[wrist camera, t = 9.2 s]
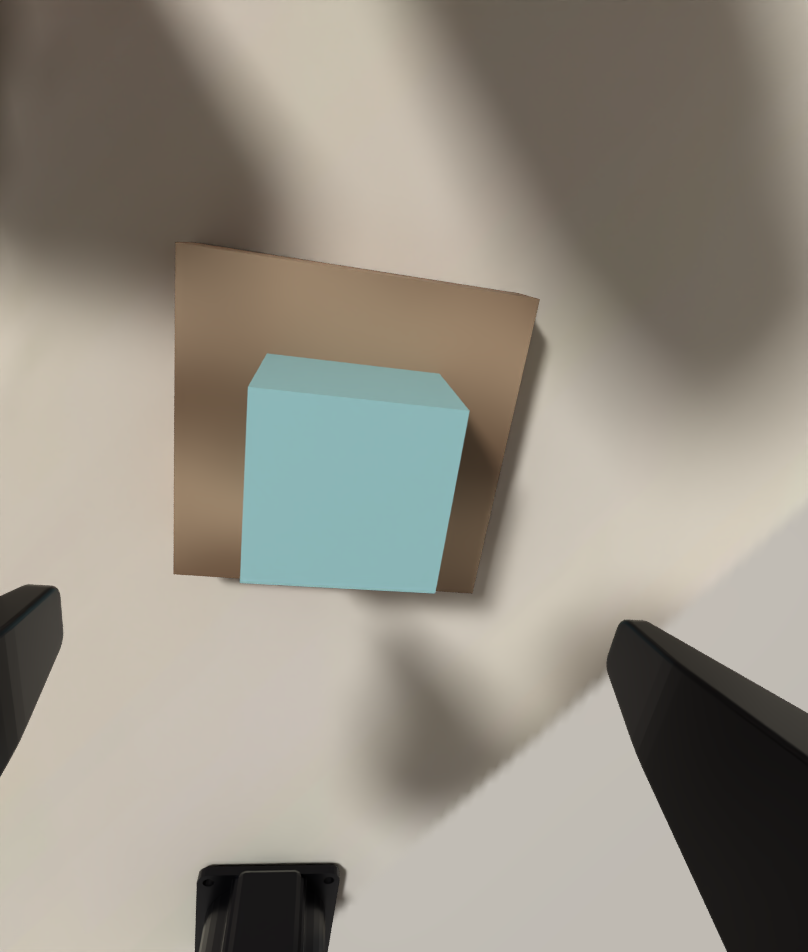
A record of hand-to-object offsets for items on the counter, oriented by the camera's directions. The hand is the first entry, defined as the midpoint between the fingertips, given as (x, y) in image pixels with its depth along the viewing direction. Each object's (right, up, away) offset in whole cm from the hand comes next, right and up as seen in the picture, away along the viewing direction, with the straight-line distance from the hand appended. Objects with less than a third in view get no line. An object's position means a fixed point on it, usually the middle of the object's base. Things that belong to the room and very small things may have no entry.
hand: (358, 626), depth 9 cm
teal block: (-1, +3, +8) cm, 9 cm away
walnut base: (-1, +4, +10) cm, 11 cm away
